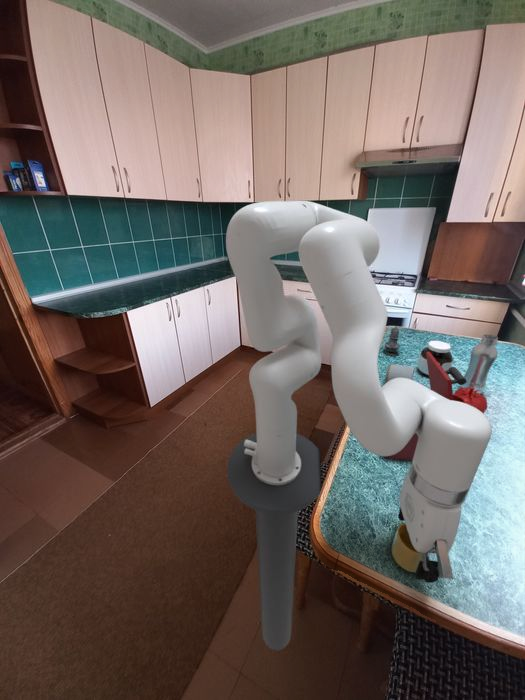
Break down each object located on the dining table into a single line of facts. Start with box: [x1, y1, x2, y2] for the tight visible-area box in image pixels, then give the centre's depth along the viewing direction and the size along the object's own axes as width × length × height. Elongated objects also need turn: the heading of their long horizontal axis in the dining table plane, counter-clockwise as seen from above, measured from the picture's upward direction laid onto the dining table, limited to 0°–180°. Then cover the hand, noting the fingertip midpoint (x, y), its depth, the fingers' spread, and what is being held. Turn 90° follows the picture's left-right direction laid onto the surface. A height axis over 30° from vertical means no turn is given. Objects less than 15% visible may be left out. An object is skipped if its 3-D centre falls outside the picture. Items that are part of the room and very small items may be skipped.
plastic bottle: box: [459, 334, 499, 395], centre depth 91 cm, size 6×7×20 cm
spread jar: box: [417, 340, 454, 378], centre depth 105 cm, size 12×11×12 cm
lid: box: [426, 352, 466, 400], centre depth 68 cm, size 14×13×5 cm
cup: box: [391, 522, 431, 573], centre depth 51 cm, size 5×6×6 cm
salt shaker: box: [383, 326, 401, 357], centre depth 118 cm, size 6×6×12 cm
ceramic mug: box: [384, 363, 416, 384], centre depth 97 cm, size 11×8×8 cm
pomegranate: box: [453, 385, 488, 415], centre depth 85 cm, size 10×10×9 cm
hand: (415, 546), depth 51 cm, fingers open, 9 cm apart
